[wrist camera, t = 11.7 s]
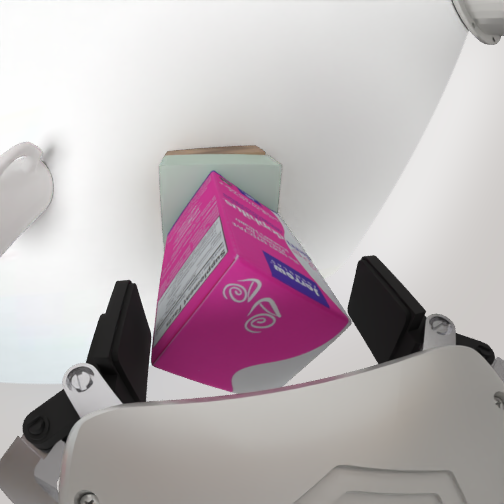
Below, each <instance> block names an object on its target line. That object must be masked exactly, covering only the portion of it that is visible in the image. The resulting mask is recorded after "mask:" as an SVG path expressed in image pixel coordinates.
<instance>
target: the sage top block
mask: <svg viewBox="0 0 504 504" xmlns="http://www.w3.org/2000/svg"><path fill="white" fill-rule="evenodd" d="M213 170H214V171H216V172H217V173H218V174H220V175H221V176H223V177H224V178H225V179H227V180H228V181H229V182H231V183H232V184H234V185H235V186H237V187H238V188H240V189H241V190H243V191H244V192H245V193H247V194H248V195H250V196H251V197H253V198H254V199H255V200H257V201H258V202H260V203H261V204H263V205H265V206H266V207H268V208H270V209H271V210H273V211H274V212H276V213H278V203H279V192H280V182H281V171H282V165H281V164H280V163H278V162H277V161H275V160H274V159H273V158H271V157H270V156H268V155H253V154H191V155H165V156H164V158H163V160H162V162H161V163H160V165H159V181H160V201H161V217H162V230H163V242H164V252H165V246H166V240H167V235H168V233H169V231H170V230H171V228H172V227H173V225H174V224H175V222H176V221H177V219H178V218H179V216H180V215H181V213H182V212H183V210H184V209H185V207H186V206H187V204H188V203H189V202H190V200H191V199H192V197H193V196H194V194H195V193H196V192H197V190H198V189H199V187H200V186H201V185H202V183H203V182H204V181H205V179H206V178H207V176H208V175H209V174H210V172H211V171H213Z"/></svg>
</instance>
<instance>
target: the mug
mask: <svg viewBox="0 0 504 504" xmlns="http://www.w3.org/2000/svg"><path fill="white" fill-rule="evenodd" d="M42 155H43V152H42V150H41V149H40V148H39V147H38V146H36V145H34V144H32V143H30V142H23V143H20V144H17V145H15V146H14V147H12V148H10V149H9V150H7V151H6V152H5V153H3V154H2V155H1V156H0V257H1V256H2V255H3V254H4V253H5V251H6V250H7V249H8V248H9V247H10V246H11V245H12V244H13V242H14V241H15V240H16V239H17V238H18V237H19V236H20V235H21V234H22V233H23V232H24V231H25V230H26V229H27V228H28V227H29V226H30V225H31V224H32V223H33V222H34V221H35V220H36V219H37V218H38V217H39V216H40V214H41V213H42V212H43V211H44V210H45V209H46V208H47V207H48V205H49V204H50V202H51V199H52V195H53V180H52V177H51V174H50V172H49V170H48V168H47V167H46V165H45V164H44V163H43V162H42V161H40V159H41V157H42ZM21 156H25V157H24V158H21V159H19V160H16V159H17V158H19V157H21ZM14 160H16V161H14Z"/></svg>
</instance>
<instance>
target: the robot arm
mask: <svg viewBox="0 0 504 504" xmlns="http://www.w3.org/2000/svg"><path fill="white" fill-rule="evenodd" d="M453 3H454V6H455V8H456V10H457V12H458V14H459V15H460V17H461V19H462V21H463V22H464V24H465V25H466V27H467V28H468V29H469V31H470V32H471V33H472V34H473V35H474V36H475V37H476V38H477V39H478V40H479V41H481V42H483V43H484V44H491V45H494V44H497V43H498V42H499V40H500V38H501V36H504V0H453ZM425 313H426V311H425V309H424V308H423V307H422V306H421V305H420V304H419V303H418V301H417V300H416V299H415V298H414V297H413V296H412V295H411V294H410V292H409V291H408V290H407V289H406V288H405V287H404V286H403V285H402V283H401V282H400V281H399V280H398V279H397V278H396V277H395V276H394V275H393V274H392V273H391V272H390V270H388V268H387V267H386V266H385V265H384V264H383V263H382V262H381V261H380V260H379V259H378V258H377V257H376V256H374V255H373V256H364V257H362V259H361V260H360V261H359V262H358V264H357V269H356V274H355V278H354V283H353V287H352V292H351V296H350V300H349V305H348V314H349V316H350V318H351V319H352V321H353V322H354V324H355V326H356V327H357V329H358V330H359V332H360V334H361V336H362V337H363V339H364V340H365V342H366V344H367V345H368V347H369V349H370V350H371V352H372V354H373V356H374V357H375V359H376V361H377V362H378V365H374V366H371V367H368V368H364V369H360V370H357V371H353V372H349V373H345V374H341V375H337V376H333V377H329V378H324V379H320V380H315V381H311V382H306V383H302V384H296V385H291V386H286V387H280V388H274V389H268V390H262V391H255V392H249V393H241V394H234V395H225V396H216V397H205V398H195V399H181V400H167V401H149V402H146V391H147V377H148V367H149V356H150V347H151V332H150V329H149V326H148V322H147V319H146V316H145V313H144V310H143V306H142V303H141V299H140V296H139V292H138V289H137V286H136V284H135V283H132V282H131V281H130V280H124V281H117V282H116V284H115V287H114V289H113V292H112V295H111V298H110V301H109V304H108V307H107V310H106V313H105V314H102V315H101V316H100V318H99V321H98V324H97V327H96V330H95V333H94V337H93V340H92V343H91V347H90V350H89V354H88V357H87V361H86V363H80V364H76V365H74V366H72V367H71V368H69V369H68V370H67V371H66V373H65V374H64V377H63V380H62V385H63V388H64V389H63V390H62V391H60V392H59V393H57V394H56V395H55V396H53V397H52V398H50V399H49V400H48V401H46V402H45V403H43V404H42V405H41V406H39V407H38V408H36V409H35V410H34V411H32V412H31V413H30V414H29V415H28V416H27V417H26V418H25V420H24V423H23V433H24V434H23V436H22V437H21V438H20V437H19V436H17V438H16V439H15V440H14V442H13V443H12V444H11V446H10V447H9V449H8V450H7V451H6V453H5V454H4V456H3V457H2V458H1V460H0V488H1V490H2V491H3V492H4V493H5V494H6V496H7V497H8V498H9V499H10V500H11V501H12V502H13V503H14V504H504V360H502V359H501V358H499V357H497V358H496V359H495V356H494V352H493V350H492V349H491V348H490V347H489V346H488V345H487V344H485V343H483V342H481V341H478V340H475V339H472V338H469V337H466V336H463V335H460V334H457V333H456V332H455V326H454V324H453V322H452V321H451V320H450V319H448V318H447V317H446V316H443V315H440V314H432V315H430V316H428V317H427V318H426V316H425ZM59 477H60V481H59V493H58V490H57V481H58V479H59Z"/></svg>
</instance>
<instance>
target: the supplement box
mask: <svg viewBox="0 0 504 504" xmlns="http://www.w3.org/2000/svg"><path fill="white" fill-rule="evenodd" d="M350 325H351V319H350V318H349V316H348V315H347V314H346V312H345V310H344V309H343V307H342V306H341V304H340V303H339V301H338V300H337V298H336V297H335V295H334V294H333V292H332V291H331V289H330V288H329V286H328V285H327V283H326V282H325V280H324V279H323V277H322V276H321V274H320V273H319V271H318V270H317V268H316V267H315V265H314V264H313V262H312V261H311V259H310V258H309V256H308V255H307V254H306V252H305V251H304V249H303V248H302V246H301V245H300V244H299V242H298V241H297V239H296V238H295V236H294V235H293V234H292V232H291V231H290V229H289V228H288V227H287V225H286V224H285V222H284V221H283V220H282V218H281V217H280V216H279V214H277V213H276V212H274V211H273V210H271V209H270V208H268V207H266V206H265V205H263V204H261V203H260V202H258V201H257V200H255V199H254V198H253V197H251V196H250V195H248V194H247V193H245V192H244V191H243V190H241V189H240V188H238V187H237V186H235V185H234V184H232V183H231V182H229V181H228V180H227V179H225V178H224V177H223V176H221V175H220V174H218V173H217V172H216V171H214V170H213V171H211V172H210V174H209V175H208V176H207V178H206V179H205V181H204V182H203V183H202V185H201V186H200V187H199V189H198V190H197V192H196V193H195V194H194V196H193V197H192V199H191V200H190V202H189V203H188V204H187V206H186V207H185V209H184V210H183V212H182V213H181V215H180V216H179V218H178V219H177V221H176V222H175V224H174V225H173V227H172V228H171V230H170V231H169V233H168V235H167V240H166V246H165V252H164V259H163V265H162V272H161V278H160V285H159V292H158V300H157V308H156V318H155V327H154V335H153V344H152V356H151V363H152V365H153V366H154V367H157V368H159V369H162V370H165V371H168V372H170V373H173V374H176V375H179V376H182V377H185V378H187V379H190V380H193V381H197V382H200V383H202V384H206V385H209V386H212V387H216V388H219V389H222V390H226V391H229V392H233V393H237V394H241V393H249V392H255V391H262V390H268V389H274V388H280V387H282V386H284V385H285V384H286V383H287V382H288V381H289V380H290V379H292V378H293V377H294V376H295V375H296V374H297V373H298V372H300V371H301V370H302V369H303V368H304V367H305V366H306V365H308V364H309V363H310V362H311V361H312V360H313V359H314V358H316V357H317V356H318V355H319V354H320V353H321V352H322V351H324V350H325V349H326V348H327V347H328V346H329V345H330V344H331V343H332V342H334V341H335V340H336V339H337V338H338V337H339V336H340V335H341V334H342V333H343V332H344V331H345V330H346V329H347V328H348V327H349V326H350Z"/></svg>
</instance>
